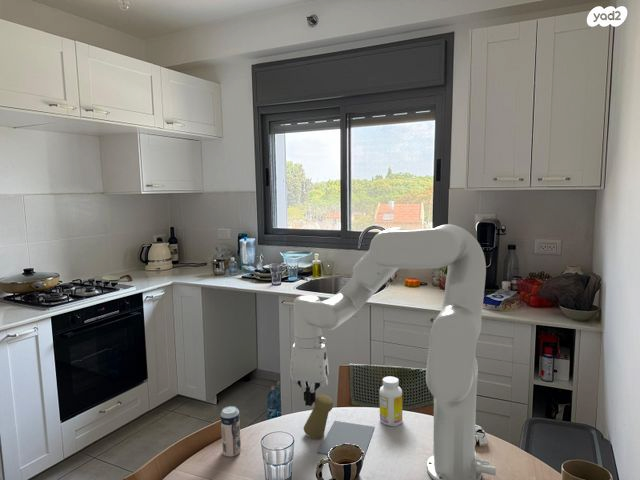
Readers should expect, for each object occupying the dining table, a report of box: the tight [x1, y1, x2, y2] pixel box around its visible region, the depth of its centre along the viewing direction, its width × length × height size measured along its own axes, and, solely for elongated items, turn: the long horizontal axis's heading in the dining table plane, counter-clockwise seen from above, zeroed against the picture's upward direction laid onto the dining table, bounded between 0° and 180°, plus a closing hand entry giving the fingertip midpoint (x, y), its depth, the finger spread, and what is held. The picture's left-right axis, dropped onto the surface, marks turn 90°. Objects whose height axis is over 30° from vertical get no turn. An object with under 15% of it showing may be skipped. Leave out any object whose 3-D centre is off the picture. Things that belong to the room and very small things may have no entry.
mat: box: [317, 420, 376, 457], centre depth 118 cm, size 12×16×1 cm
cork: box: [303, 394, 334, 440], centre depth 120 cm, size 6×6×11 cm
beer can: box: [220, 405, 242, 458], centre depth 113 cm, size 5×5×12 cm
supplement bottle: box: [378, 375, 403, 427], centre depth 127 cm, size 7×7×13 cm
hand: (309, 403), depth 120 cm, fingers closed
